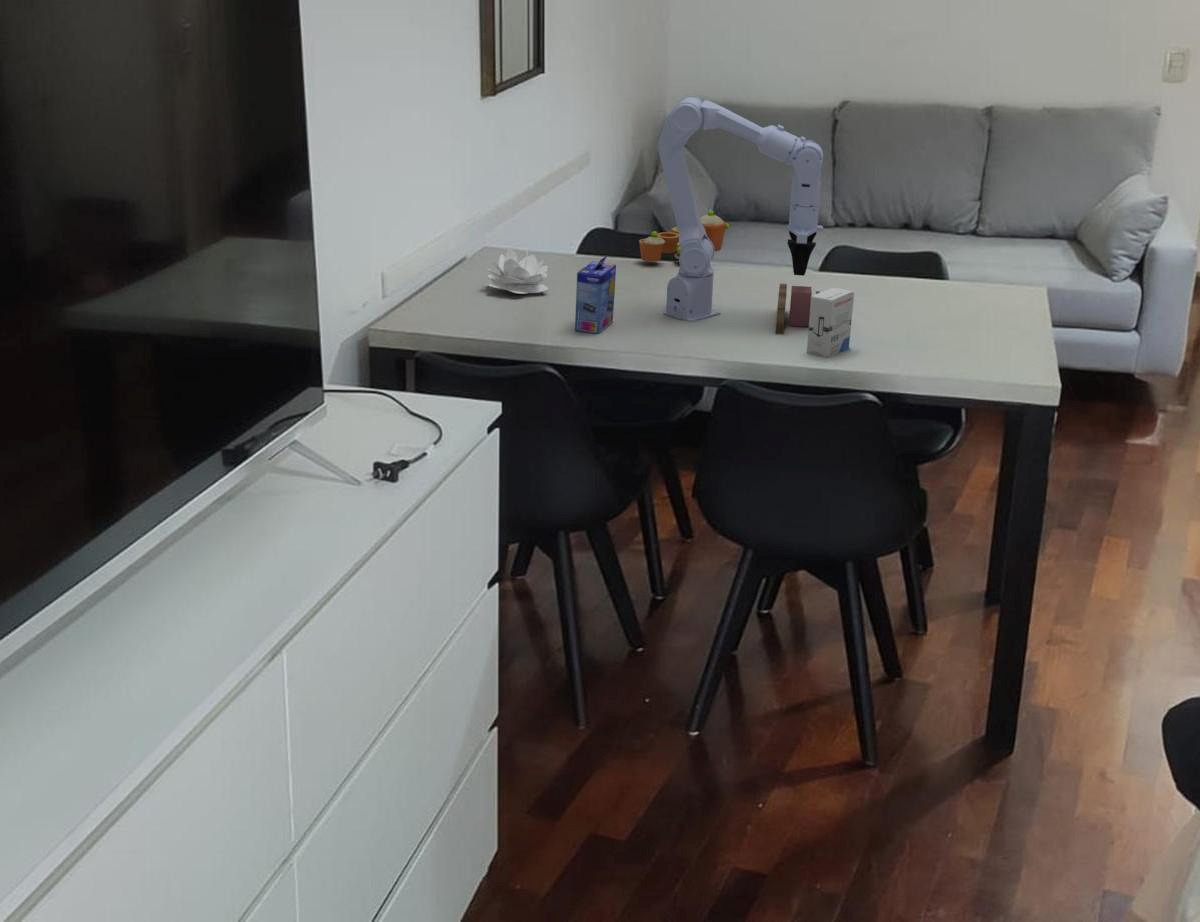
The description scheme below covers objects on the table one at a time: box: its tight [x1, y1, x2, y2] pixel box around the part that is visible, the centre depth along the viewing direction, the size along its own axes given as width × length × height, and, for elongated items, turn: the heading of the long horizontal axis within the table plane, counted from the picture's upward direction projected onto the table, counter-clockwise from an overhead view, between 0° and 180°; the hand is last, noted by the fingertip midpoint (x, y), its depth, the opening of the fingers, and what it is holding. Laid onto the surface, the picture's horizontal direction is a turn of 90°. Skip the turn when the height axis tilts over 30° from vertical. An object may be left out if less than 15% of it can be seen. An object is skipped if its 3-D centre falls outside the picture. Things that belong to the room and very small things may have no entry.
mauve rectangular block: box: [788, 285, 813, 328], centre depth 296 cm, size 5×4×7 cm
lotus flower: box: [485, 247, 549, 295], centre depth 316 cm, size 14×15×9 cm
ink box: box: [806, 287, 855, 358], centre depth 278 cm, size 9×5×12 cm, turn 141°
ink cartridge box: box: [574, 254, 617, 335], centre depth 289 cm, size 10×6×14 cm, turn 162°
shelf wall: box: [775, 282, 788, 335], centre depth 297 cm, size 18×2×6 cm, turn 172°
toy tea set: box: [638, 209, 730, 263], centre depth 348 cm, size 26×16×10 cm, turn 152°
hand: (799, 270), depth 296 cm, fingers open, 7 cm apart
